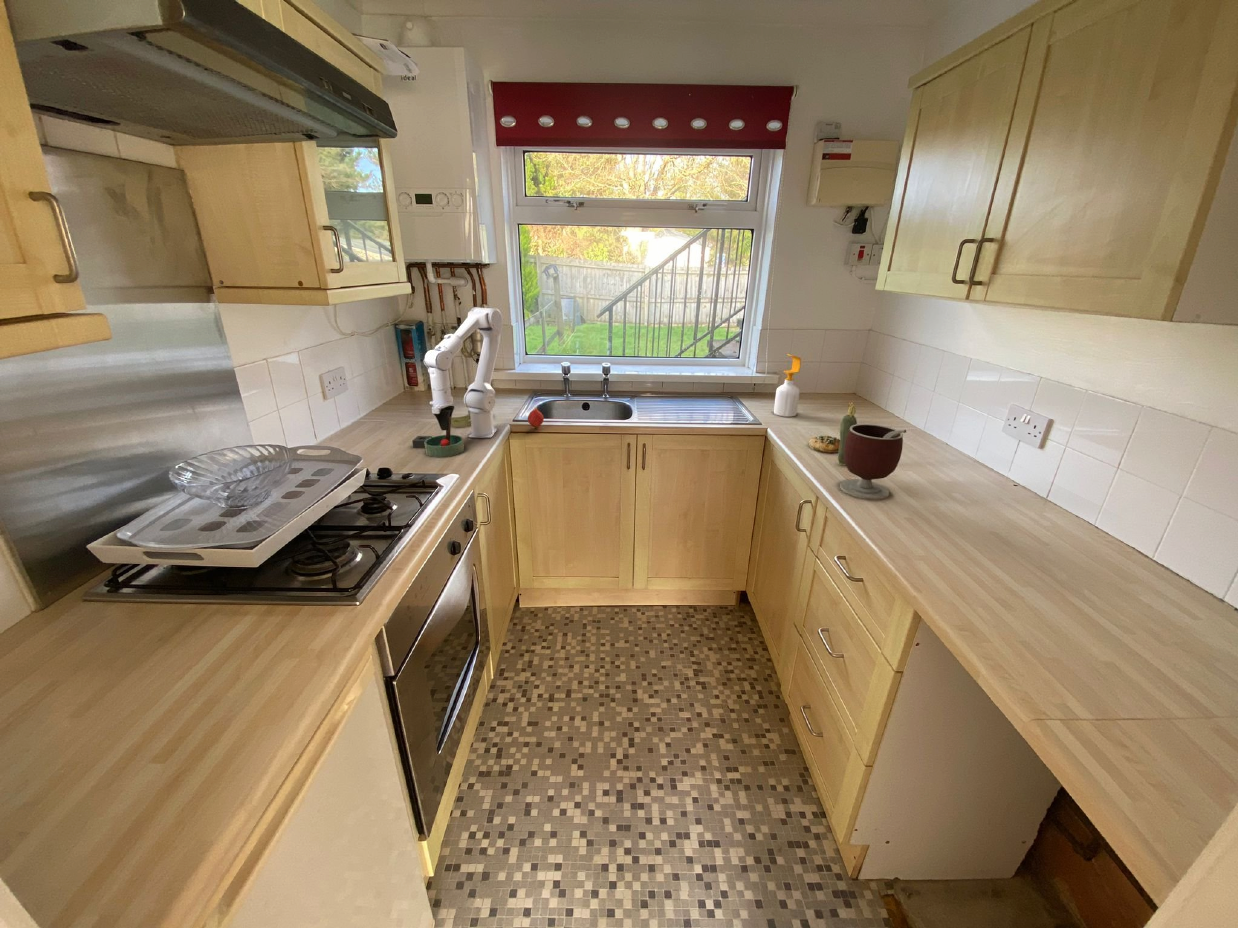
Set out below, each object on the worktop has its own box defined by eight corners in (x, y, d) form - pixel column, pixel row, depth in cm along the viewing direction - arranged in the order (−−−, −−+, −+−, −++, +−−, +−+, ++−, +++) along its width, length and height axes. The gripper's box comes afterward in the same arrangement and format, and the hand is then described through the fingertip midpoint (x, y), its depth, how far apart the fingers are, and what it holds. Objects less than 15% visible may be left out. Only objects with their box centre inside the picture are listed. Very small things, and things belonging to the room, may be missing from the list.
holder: (418, 442, 174) (417, 435, 173) (433, 443, 174) (432, 436, 173) (413, 447, 169) (412, 440, 168) (428, 447, 169) (427, 440, 168)
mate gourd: (825, 483, 144) (837, 415, 137) (863, 477, 149) (877, 411, 141) (868, 506, 131) (884, 432, 123) (908, 498, 135) (926, 427, 128)
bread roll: (846, 445, 174) (847, 432, 171) (838, 459, 166) (839, 445, 163) (812, 441, 180) (813, 428, 177) (803, 453, 172) (804, 440, 169)
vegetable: (850, 468, 155) (862, 405, 148) (835, 467, 156) (846, 404, 148) (846, 463, 159) (858, 401, 152) (832, 462, 160) (843, 400, 152)
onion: (525, 429, 189) (523, 408, 186) (534, 425, 194) (533, 404, 191) (537, 431, 186) (536, 410, 183) (547, 427, 191) (546, 406, 188)
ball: (442, 445, 169) (441, 437, 167) (451, 445, 169) (450, 437, 167) (440, 450, 166) (438, 442, 165) (449, 450, 166) (447, 442, 165)
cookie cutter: (474, 413, 208) (473, 408, 207) (497, 417, 203) (497, 412, 203) (442, 424, 193) (441, 419, 192) (466, 429, 188) (466, 424, 188)
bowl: (433, 444, 172) (431, 434, 171) (468, 444, 172) (467, 435, 171) (420, 457, 161) (418, 446, 160) (458, 457, 161) (456, 446, 160)
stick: (446, 443, 170) (447, 415, 166) (450, 444, 170) (451, 416, 166) (444, 445, 168) (446, 416, 165) (449, 445, 169) (450, 417, 165)
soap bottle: (768, 412, 213) (776, 353, 204) (785, 410, 217) (793, 352, 208) (783, 418, 206) (791, 357, 197) (801, 415, 209) (809, 355, 200)
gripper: (436, 383, 169) (441, 422, 174) (420, 393, 155) (425, 435, 160) (457, 383, 169) (461, 422, 174) (443, 394, 155) (448, 436, 160)
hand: (445, 429), depth 167 cm, fingers closed on stick, 1 cm apart
